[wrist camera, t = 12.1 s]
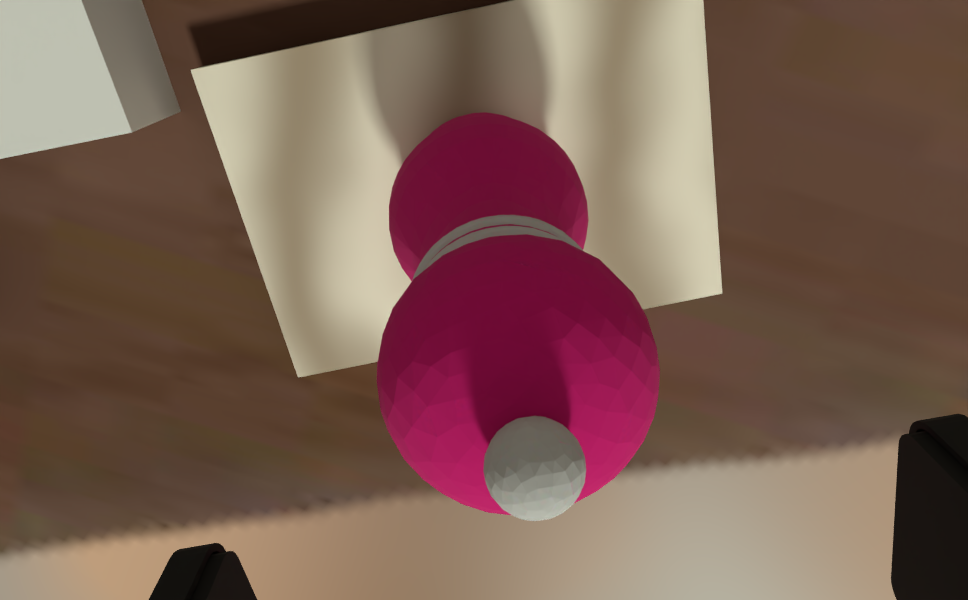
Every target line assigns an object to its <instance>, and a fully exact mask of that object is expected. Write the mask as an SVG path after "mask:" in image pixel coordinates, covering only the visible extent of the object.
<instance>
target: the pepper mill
mask: <svg viewBox="0 0 968 600" xmlns="http://www.w3.org/2000/svg"><path fill="white" fill-rule="evenodd" d="M588 221H589V219H588V206H587V199H586V196H585V192H584V188H583V185H582V183H581V180H580V178H579V175H578V173H577V171H576V169H575V166H574V164H573V163H572V161H571V160H570V158H569V157H568V155H567V154H566V152H565V151H564V150H563V149H562V148H561V147H560V146H559V145H558V144H557V143H556V142H555V141H554V140H553V139H552V138H550V137H549V136H548V135H546V134H545V133H544V132H542V131H541V130H539V129H538V128H536V127H533V126H531V125H529V124H527V123H524V122H522V121H519V120H516V119H512V118H510V117H507V116H504V115H500V114H494V113H487V112H480V113H471V114H467V115H463V116H459V117H456V118H453V119H451V120H449V121H447V122H445V123H444V124H442V125H440V126H439V127H438V128H436V129H435V130H434V131H433V132H432V133H431V134H430V135H428V136H427V137H426V138H425V139H424V140H423V141H421V142H420V143H419V144H418V145H417V146H416V147H415V148H414V149H413V150H412V152H411V153H410V154H409V155H408V157H407V158H406V159H405V161H404V162H403V164H402V166H401V168H400V170H399V171H398V173H397V176H396V178H395V181H394V184H393V187H392V191H391V197H390V202H389V231H390V236H391V241H392V245H393V250H394V253H395V255H396V257H397V259H398V261H399V263H400V265H401V267H402V269H403V270H404V272H405V273H406V275H407V276H408V277H409V279H410V280H411V281H412V282H411V283H410V285H409V286H408V288H407V289H406V290H405V292H404V293H403V295H402V296H401V297H400V299H399V300H398V301H397V303H396V304H395V306H394V307H393V309H392V311H391V314H390V317H389V319H388V322H387V324H386V327H385V329H384V332H383V334H382V340H381V346H380V351H379V357H378V363H377V386H378V394H379V401H380V408H381V412H382V415H383V418H384V421H385V424H386V427H387V429H388V432H389V434H390V435H391V437H392V439H393V441H394V442H395V444H396V446H397V448H398V449H399V451H400V453H401V455H402V456H403V458H404V459H405V460H406V462H407V463H408V464H409V465H410V466H411V467H412V468H413V469H414V470H415V471H416V472H417V473H418V474H419V475H420V477H421V478H422V479H423V480H425V481H426V482H427V483H429V484H430V485H432V486H433V487H434V488H436V489H437V490H438V491H440V492H441V493H442V494H444V495H446V496H448V497H450V498H452V499H454V500H456V501H458V502H459V503H461V504H463V505H466V506H470V507H473V508H476V509H479V510H482V511H485V512H489V513H497V514H507V515H512V516H515V517H517V518H520V519H523V520H530V521H538V520H546V519H551V518H553V517H555V516H558V515H560V514H562V513H563V512H565V510H567V509H568V508H569V507H570V506H572V505H573V504H574V503H576V502H577V501H579V500H581V499H583V498H585V497H587V496H589V495H590V494H592V493H594V492H596V491H597V490H599V489H600V488H602V487H603V486H604V485H606V484H607V483H608V482H610V481H611V480H612V479H614V478H615V477H616V476H617V475H618V473H619V472H620V471H621V470H622V469H623V468H624V467H625V466H626V465H627V464H628V463H629V461H630V460H631V458H632V457H633V456H634V454H635V453H636V451H637V450H638V449H639V447H640V446H641V444H642V443H643V441H644V439H645V437H646V434H647V432H648V430H649V427H650V425H651V423H652V420H653V418H654V414H655V409H656V405H657V400H658V392H659V376H660V368H659V361H658V354H657V348H656V344H655V341H654V338H653V335H652V332H651V329H650V326H649V322H648V319H647V317H646V315H645V313H644V311H643V309H642V307H641V305H640V303H639V302H638V300H637V298H636V297H635V295H634V294H633V292H632V291H631V290H630V289H629V288H628V287H627V286H626V285H625V284H624V283H623V282H622V281H621V280H620V279H619V278H618V277H617V276H616V275H615V274H614V273H613V272H612V271H611V270H610V269H609V268H608V267H607V266H606V265H605V264H604V263H603V262H602V261H601V260H600V259H598V258H596V257H594V256H592V255H590V254H588V253H586V252H584V251H583V249H584V245H585V241H586V236H587V229H588Z"/></svg>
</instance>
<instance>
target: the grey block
mask: <svg viewBox="0 0 968 600" xmlns="http://www.w3.org/2000/svg"><path fill="white" fill-rule="evenodd" d="M179 112H181V110H180V108H179V105H178V102H177V99H176V96H175V93H174V91H173V88H172V85H171V82H170V79H169V76H168V74H167V71H166V68H165V65H164V62H163V59H162V57H161V54H160V51H159V48H158V45H157V42H156V40H155V37H154V34H153V31H152V28H151V25H150V23H149V20H148V17H147V14H146V11H145V9H144V6H143V3H142V0H0V159H2V158H7V157H12V156H17V155H22V154H27V153H32V152H37V151H42V150H47V149H52V148H57V147H61V146H66V145H71V144H76V143H81V142H86V141H91V140H96V139H101V138H106V137H111V136H116V135H121V134H126V133H131V132H134V131H136V130H139V129H141V128H143V127H146V126H148V125H150V124H153V123H155V122H157V121H160V120H162V119H165V118H167V117H169V116H172V115H174V114H176V113H179Z"/></svg>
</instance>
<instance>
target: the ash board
mask: <svg viewBox="0 0 968 600" xmlns="http://www.w3.org/2000/svg"><path fill="white" fill-rule="evenodd" d="M191 73H192V76H193V79H194V81H195V84H196V87H197V90H198V93H199V96H200V99H201V101H202V104H203V107H204V110H205V113H206V116H207V118H208V121H209V124H210V127H211V130H212V133H213V136H214V138H215V141H216V144H217V147H218V150H219V153H220V156H221V158H222V161H223V164H224V167H225V170H226V173H227V176H228V178H229V181H230V184H231V187H232V190H233V193H234V196H235V198H236V201H237V204H238V207H239V210H240V213H241V216H242V218H243V221H244V224H245V227H246V230H247V233H248V236H249V238H250V241H251V244H252V247H253V250H254V253H255V256H256V258H257V261H258V264H259V267H260V270H261V273H262V276H263V278H264V281H265V284H266V287H267V290H268V293H269V296H270V298H271V301H272V304H273V307H274V310H275V313H276V316H277V318H278V321H279V324H280V327H281V330H282V333H283V336H284V338H285V341H286V344H287V347H288V350H289V353H290V356H291V358H292V361H293V364H294V367H295V370H296V373H297V376H298V377H303V376H308V375H313V374H318V373H323V372H328V371H333V370H338V369H343V368H348V367H353V366H358V365H363V364H369V363H374V362H378V357H379V351H380V346H381V340H382V334H383V332H384V329H385V327H386V324H387V322H388V319H389V317H390V314H391V311H392V309H393V307H394V306H395V304H396V303H397V301H398V300H399V299H400V297H401V296H402V295H403V293H404V292H405V290H406V289H407V288H408V286H409V285H410V283H411V282H412V281H411V280H410V279H409V277H408V276H407V275H406V273H405V272H404V270H403V269H402V267H401V265H400V263H399V261H398V259H397V257H396V255H395V253H394V250H393V245H392V241H391V236H390V231H389V202H390V197H391V191H392V187H393V184H394V181H395V178H396V176H397V173H398V171H399V170H400V168H401V166H402V164H403V162H404V161H405V159H406V158H407V157H408V155H409V154H410V153H411V152H412V150H413V149H414V148H415V147H416V146H417V145H418V144H419V143H420V142H421V141H423V140H424V139H425V138H426V137H427V136H428V135H430V134H431V133H432V132H433V131H434V130H435V129H436V128H438V127H439V126H440V125H442V124H444V123H445V122H447V121H449V120H451V119H453V118H456V117H459V116H463V115H467V114H471V113H480V112H487V113H494V114H500V115H504V116H507V117H510V118H512V119H516V120H519V121H522V122H524V123H527V124H529V125H531V126H533V127H536V128H538V129H539V130H541V131H542V132H544V133H545V134H546V135H548V136H549V137H550V138H552V139H553V140H554V141H555V142H556V143H557V144H558V145H559V146H560V147H561V148H562V149H563V150H564V151H565V152H566V154H567V155H568V157H569V158H570V160H571V161H572V163H573V164H574V166H575V169H576V171H577V173H578V175H579V178H580V180H581V183H582V185H583V188H584V192H585V196H586V199H587V206H588V219H589V221H588V229H587V236H586V241H585V245H584V249H583V251H584V252H586V253H588V254H590V255H592V256H594V257H596V258H598V259H600V260H601V261H602V262H603V263H604V264H605V265H606V266H607V267H608V268H609V269H610V270H611V271H612V272H613V273H614V274H615V275H616V276H617V277H618V278H619V279H620V280H621V281H622V282H623V283H624V284H625V285H626V286H627V287H628V288H629V289H630V290H631V291H632V292H633V294H634V295H635V297H636V298H637V300H638V302H639V303H640V305H641V307H642V309H647V308H652V307H657V306H662V305H667V304H672V303H677V302H682V301H687V300H692V299H697V298H702V297H707V296H712V295H717V294H722V283H721V268H720V252H719V237H718V222H717V206H716V191H715V175H714V160H713V145H712V129H711V114H710V98H709V83H708V68H707V52H706V37H705V21H704V6H703V0H510V1H506V2H501V3H496V4H492V5H487V6H482V7H478V8H473V9H468V10H464V11H459V12H455V13H450V14H445V15H441V16H436V17H431V18H427V19H422V20H417V21H413V22H408V23H403V24H399V25H394V26H389V27H385V28H380V29H375V30H371V31H366V32H361V33H357V34H352V35H347V36H343V37H338V38H333V39H329V40H324V41H319V42H315V43H310V44H305V45H301V46H296V47H291V48H287V49H282V50H278V51H273V52H268V53H264V54H259V55H254V56H250V57H245V58H240V59H236V60H231V61H226V62H222V63H217V64H212V65H208V66H203V67H200V68H196V69H193V70H191Z"/></svg>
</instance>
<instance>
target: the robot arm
mask: <svg viewBox="0 0 968 600" xmlns="http://www.w3.org/2000/svg"><path fill="white" fill-rule="evenodd" d="M891 583H892V587H893V591H894V594H895V597H896V599H897V600H968V417H966V416H965V415H961V414H954V415H948V416H943V417H937V418H931V419H925V420H920V421H916V422H914V423H913V424H912V425H911V427H910V431H909V434H904V435H902V436H901V438H900V440H899V447H898V465H897V484H896V501H895V519H894V537H893V554H892V572H891ZM149 600H257V598H256V596H255V594H254V592H253V589H252V587H251V585H250V583H249V580H248V578H247V576H246V574H245V572H244V570H243V567H242V565H241V563H240V560H239V558H238V557H237V555H236V553H234V552H233V551H228V552H226V551H225V549H224V547H223V546H222V545H220V544H219V543H213V544H208V545H202V546H196V547H190V548H184V549H179V550H177V551H176V552H174V553H173V555H172V556H171V558H170V559H169V561H168V563H167V565H166V567H165V569H164V571H163V573H162V575H161V577H160V579H159V581H158V583H157V585H156V586H155V588H154V590H153V593H152V595H151V596H150V598H149Z"/></svg>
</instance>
